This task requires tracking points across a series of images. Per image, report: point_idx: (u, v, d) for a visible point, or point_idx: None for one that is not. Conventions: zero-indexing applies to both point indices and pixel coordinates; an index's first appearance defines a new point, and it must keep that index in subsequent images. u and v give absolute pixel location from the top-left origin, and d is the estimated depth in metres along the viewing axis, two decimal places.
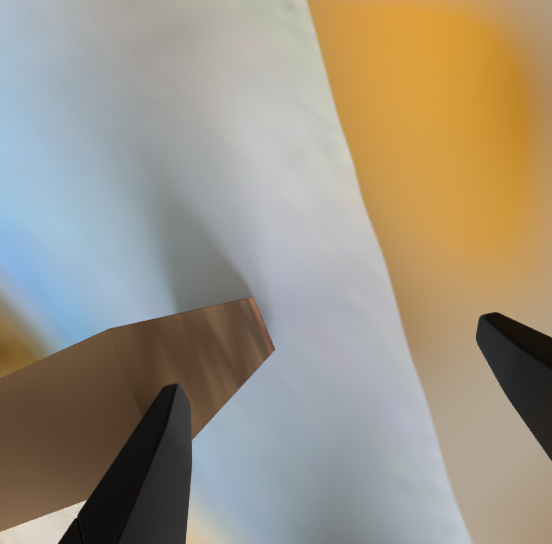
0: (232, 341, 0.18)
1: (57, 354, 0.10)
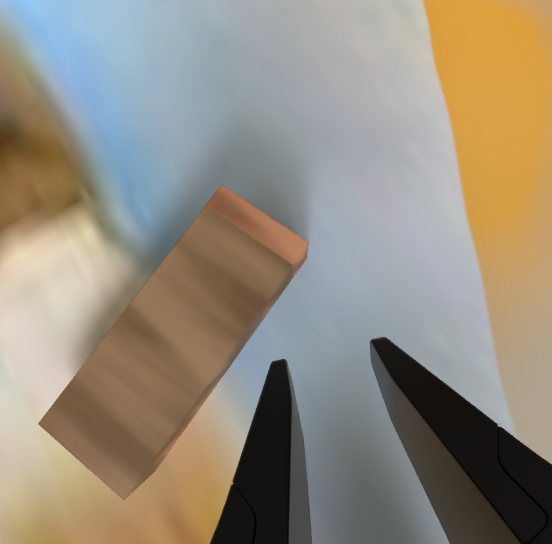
0: (233, 354, 0.20)
1: (98, 477, 0.18)
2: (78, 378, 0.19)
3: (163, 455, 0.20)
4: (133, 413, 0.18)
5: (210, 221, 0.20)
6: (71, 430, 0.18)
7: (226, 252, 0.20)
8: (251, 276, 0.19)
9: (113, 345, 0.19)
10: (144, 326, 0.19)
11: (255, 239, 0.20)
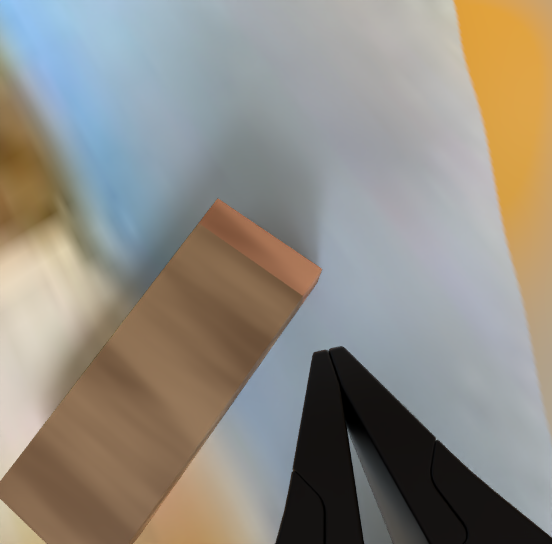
0: (232, 400, 0.17)
1: None
2: (42, 434, 0.15)
3: (147, 521, 0.17)
4: (108, 479, 0.15)
5: (203, 242, 0.17)
6: (33, 500, 0.15)
7: (222, 280, 0.16)
8: (253, 310, 0.16)
9: (85, 394, 0.16)
10: (123, 370, 0.16)
11: (258, 265, 0.16)
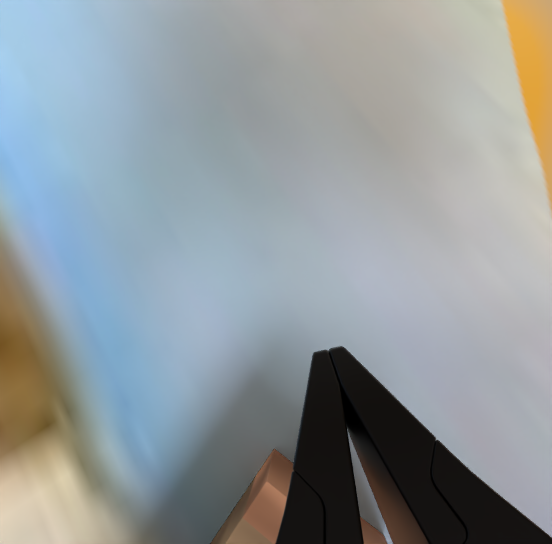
0: None
1: None
2: None
3: None
4: None
5: None
6: None
7: None
8: None
9: None
10: None
11: None
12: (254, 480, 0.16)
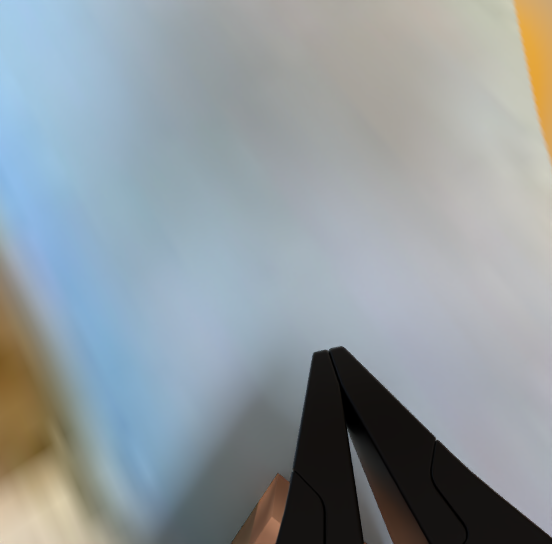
0: None
1: None
2: None
3: None
4: None
5: None
6: None
7: None
8: None
9: None
10: None
11: None
12: (257, 507, 0.15)
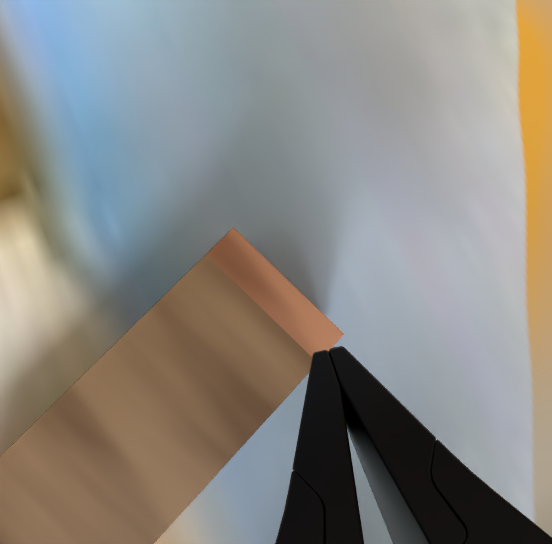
0: None
1: None
2: None
3: None
4: None
5: (209, 280, 0.14)
6: None
7: (226, 330, 0.13)
8: (258, 371, 0.13)
9: (35, 448, 0.13)
10: (87, 425, 0.13)
11: (270, 317, 0.14)
12: None
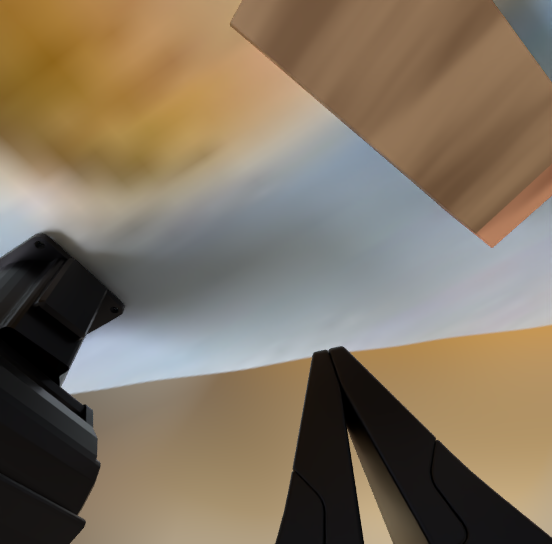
0: (381, 154, 0.17)
1: None
2: None
3: (260, 50, 0.15)
4: (347, 31, 0.12)
5: None
6: None
7: (517, 160, 0.16)
8: (478, 191, 0.17)
9: None
10: (463, 42, 0.13)
11: (516, 193, 0.17)
12: None
